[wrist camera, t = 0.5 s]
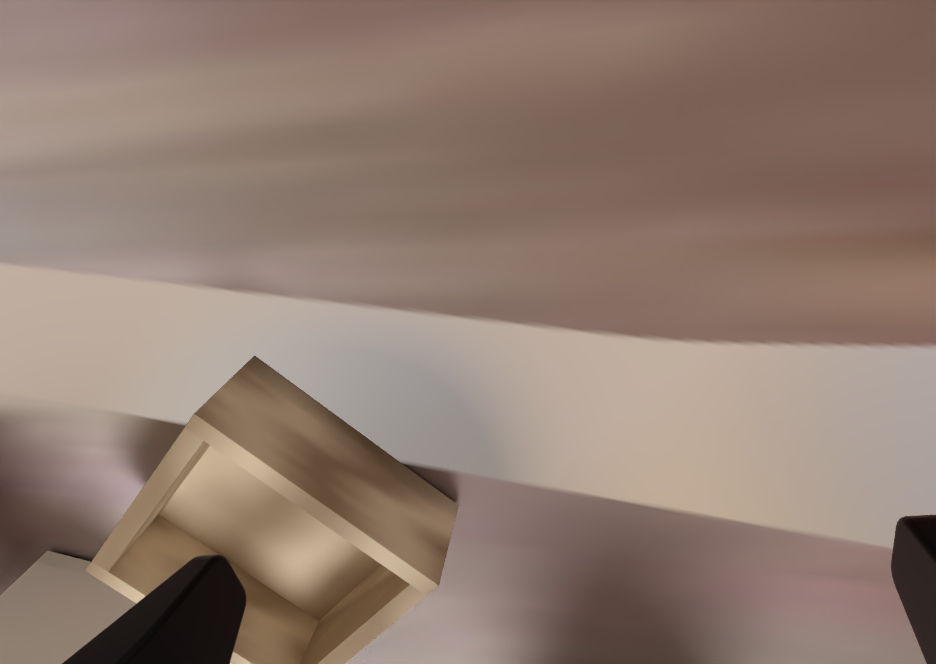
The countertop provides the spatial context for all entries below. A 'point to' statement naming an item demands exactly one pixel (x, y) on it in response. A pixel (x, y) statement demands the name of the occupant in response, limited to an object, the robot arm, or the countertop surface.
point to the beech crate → (286, 522)
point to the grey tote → (55, 611)
